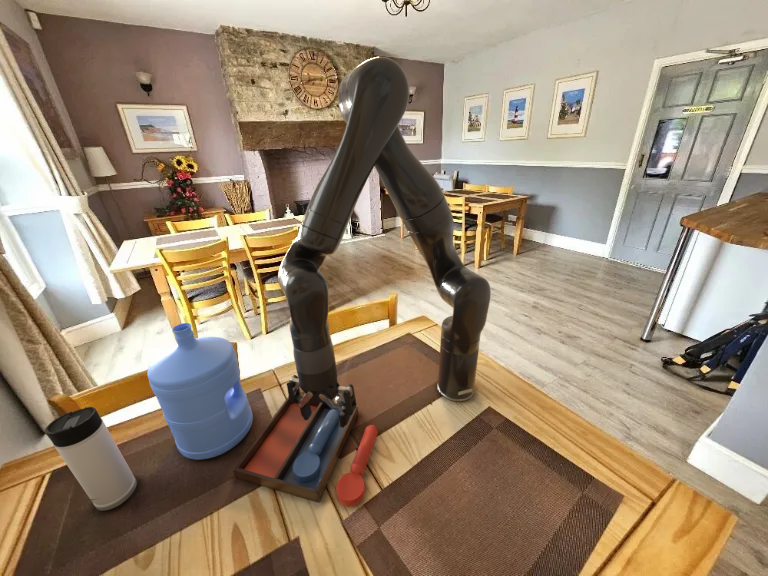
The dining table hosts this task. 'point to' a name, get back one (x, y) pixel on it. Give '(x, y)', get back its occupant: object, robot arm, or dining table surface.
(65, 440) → the travel mug
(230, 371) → the water jug
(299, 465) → the blue round-ended rod
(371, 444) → the red disc-ended rod
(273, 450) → the sorting tray
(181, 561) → the dining table surface
